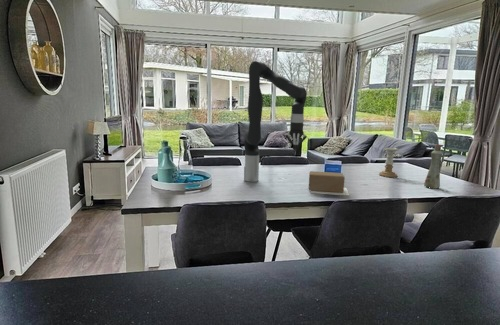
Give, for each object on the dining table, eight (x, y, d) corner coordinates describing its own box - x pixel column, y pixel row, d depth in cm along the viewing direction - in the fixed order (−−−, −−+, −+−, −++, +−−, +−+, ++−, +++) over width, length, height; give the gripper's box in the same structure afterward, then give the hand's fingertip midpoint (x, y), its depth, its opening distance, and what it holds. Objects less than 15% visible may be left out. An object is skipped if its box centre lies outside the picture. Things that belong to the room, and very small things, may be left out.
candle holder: (387, 173, 245) (390, 146, 242) (400, 176, 235) (404, 149, 231) (375, 174, 240) (378, 147, 236) (388, 178, 229) (391, 150, 225)
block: (308, 190, 191) (343, 193, 188) (309, 174, 189) (344, 176, 186) (308, 186, 201) (341, 188, 197) (309, 170, 199) (343, 172, 195)
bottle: (431, 189, 202) (437, 145, 196) (420, 186, 210) (426, 143, 205) (443, 189, 204) (449, 145, 199) (431, 185, 213) (437, 143, 207)
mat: (310, 192, 188) (310, 192, 188) (309, 185, 204) (310, 185, 204) (349, 195, 185) (349, 194, 185) (346, 188, 200) (346, 187, 200)
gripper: (285, 121, 187) (283, 151, 191) (308, 122, 185) (306, 152, 189) (286, 120, 195) (284, 149, 198) (308, 121, 193) (306, 150, 196)
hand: (295, 150), depth 193 cm, fingers closed
